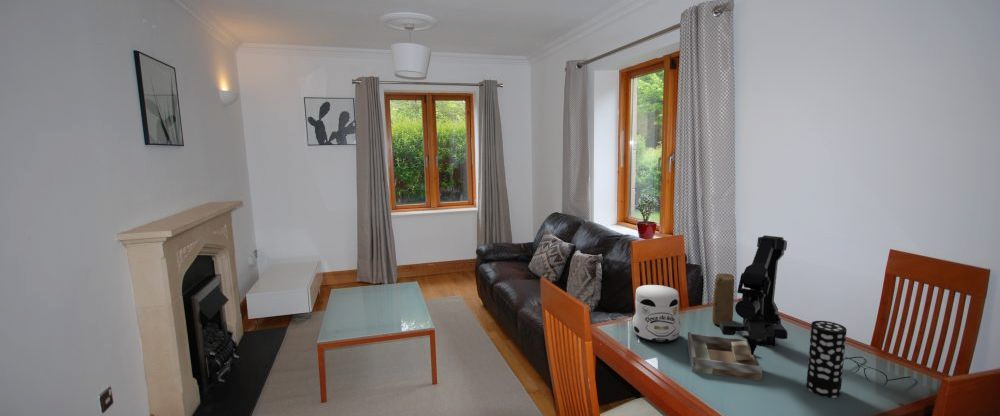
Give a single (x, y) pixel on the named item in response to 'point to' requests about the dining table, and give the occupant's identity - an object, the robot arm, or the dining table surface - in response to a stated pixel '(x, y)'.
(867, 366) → the glasses
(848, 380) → the dining table surface
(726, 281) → the block
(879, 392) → the dining table surface
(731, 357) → the shallow wooden tray
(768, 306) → the robot arm
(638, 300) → the milk container
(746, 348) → the beech block
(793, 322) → the dining table surface
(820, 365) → the spotted tube
